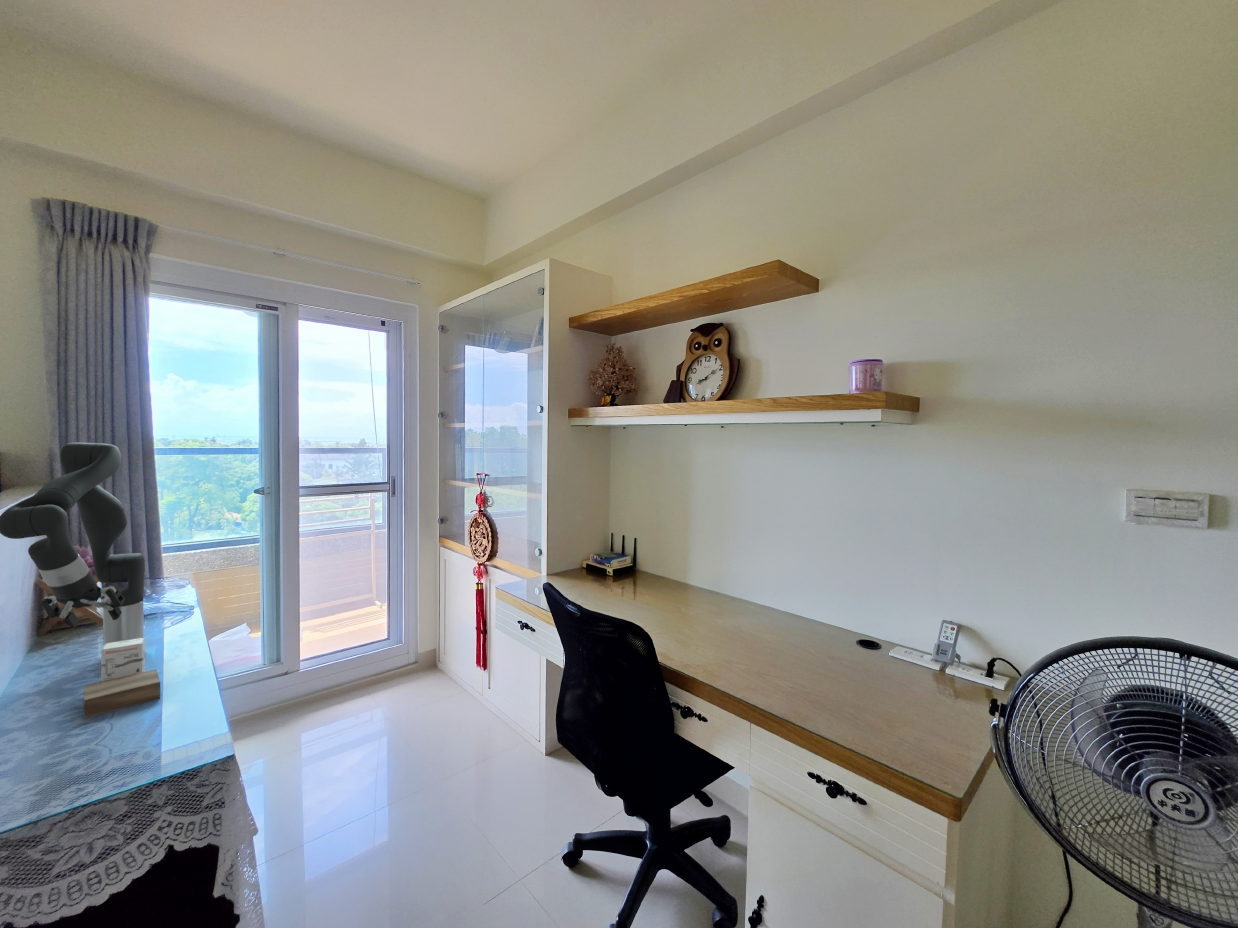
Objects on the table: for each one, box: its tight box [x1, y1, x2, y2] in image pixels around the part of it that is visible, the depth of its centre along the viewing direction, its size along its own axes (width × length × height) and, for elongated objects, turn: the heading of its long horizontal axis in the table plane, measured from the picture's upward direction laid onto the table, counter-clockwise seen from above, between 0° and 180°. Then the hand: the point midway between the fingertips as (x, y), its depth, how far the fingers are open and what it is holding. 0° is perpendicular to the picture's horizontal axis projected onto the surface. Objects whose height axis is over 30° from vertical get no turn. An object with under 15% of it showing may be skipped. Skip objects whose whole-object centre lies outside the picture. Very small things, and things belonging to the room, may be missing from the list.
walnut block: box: [83, 668, 161, 719], centre depth 133 cm, size 11×14×5 cm
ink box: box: [100, 637, 146, 682], centre depth 142 cm, size 9×5×12 cm, turn 128°
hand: (96, 621), depth 131 cm, fingers open, 8 cm apart
